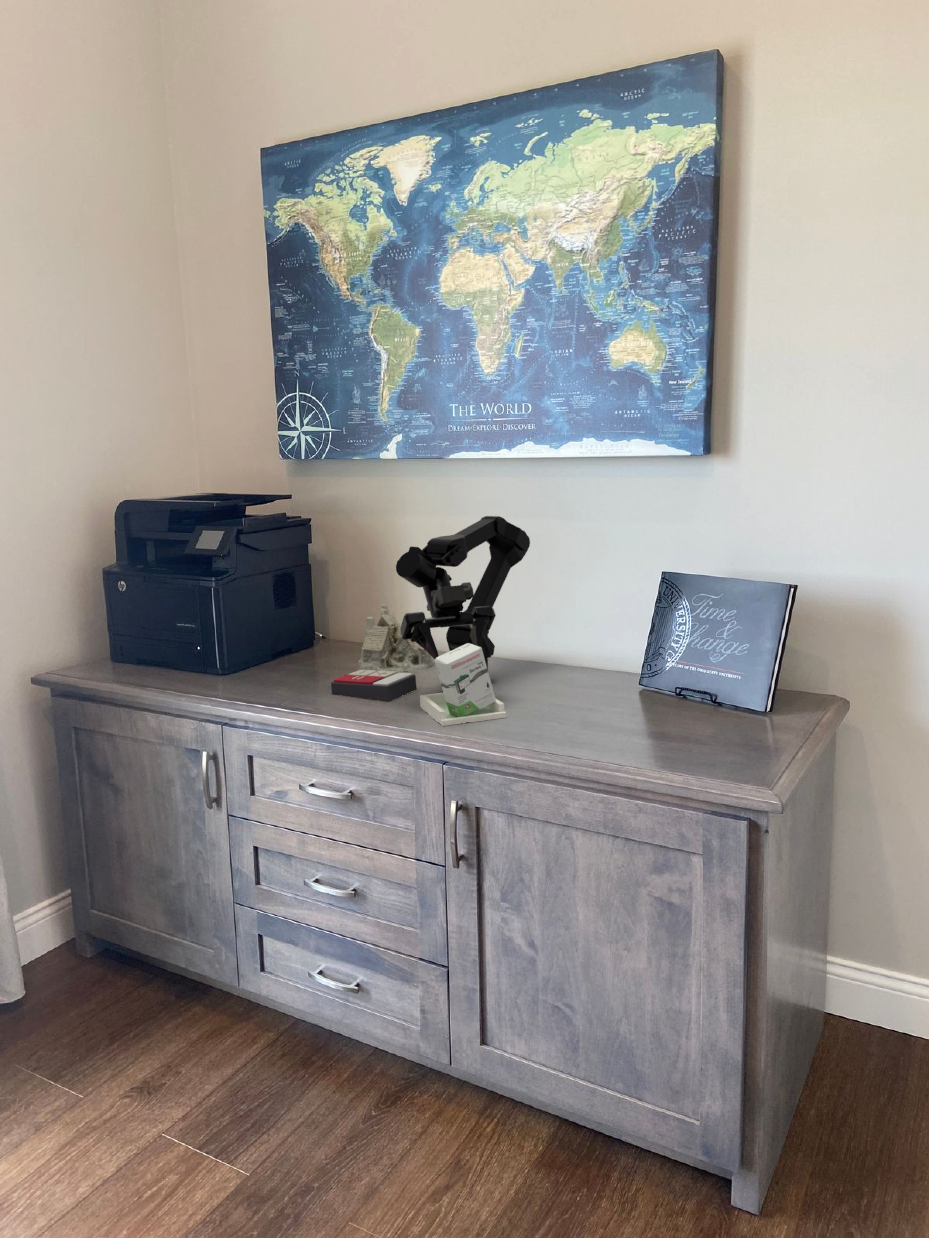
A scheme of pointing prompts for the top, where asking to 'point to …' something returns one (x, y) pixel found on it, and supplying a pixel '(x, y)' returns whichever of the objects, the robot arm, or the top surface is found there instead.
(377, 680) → the calculator
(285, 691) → the top surface
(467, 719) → the bay
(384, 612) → the ceramic cottage
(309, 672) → the top surface
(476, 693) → the ink box
